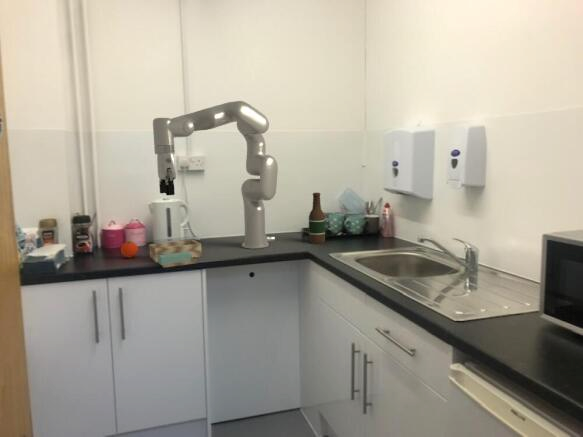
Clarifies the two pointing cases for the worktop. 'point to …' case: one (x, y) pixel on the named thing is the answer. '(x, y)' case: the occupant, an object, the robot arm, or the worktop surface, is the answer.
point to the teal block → (174, 258)
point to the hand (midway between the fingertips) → (167, 194)
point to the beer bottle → (316, 222)
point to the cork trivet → (181, 263)
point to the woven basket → (175, 248)
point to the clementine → (129, 249)
